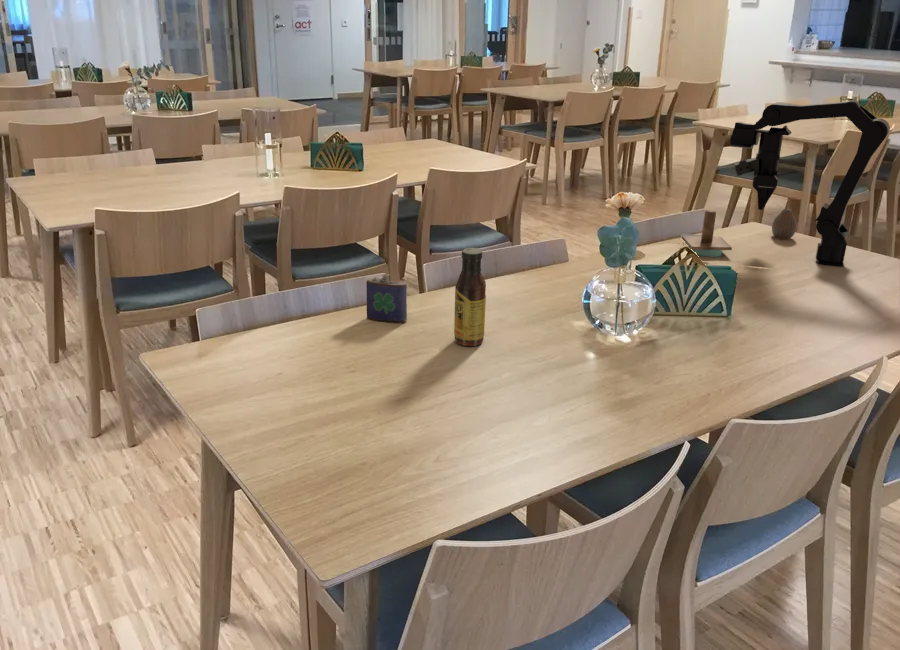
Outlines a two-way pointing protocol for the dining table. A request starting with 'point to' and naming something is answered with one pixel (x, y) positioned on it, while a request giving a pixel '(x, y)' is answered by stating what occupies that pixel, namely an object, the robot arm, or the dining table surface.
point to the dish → (708, 252)
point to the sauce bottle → (470, 300)
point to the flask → (386, 300)
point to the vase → (784, 225)
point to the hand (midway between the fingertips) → (760, 206)
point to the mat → (689, 235)
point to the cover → (707, 236)
